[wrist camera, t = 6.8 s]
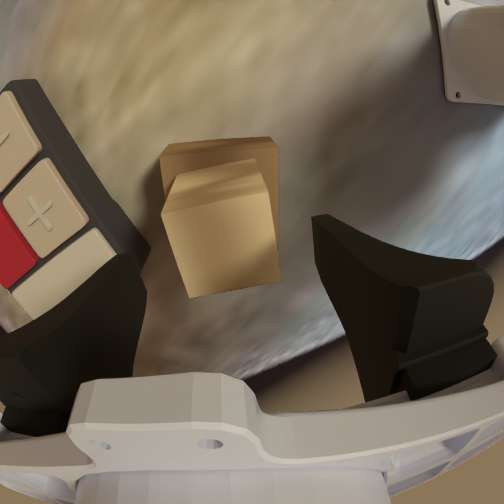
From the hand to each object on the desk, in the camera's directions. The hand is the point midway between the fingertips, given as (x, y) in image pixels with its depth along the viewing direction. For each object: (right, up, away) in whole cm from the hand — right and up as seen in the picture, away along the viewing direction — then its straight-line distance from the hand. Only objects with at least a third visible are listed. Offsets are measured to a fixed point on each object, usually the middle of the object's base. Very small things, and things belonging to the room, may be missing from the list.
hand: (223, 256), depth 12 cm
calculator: (-14, +4, +7) cm, 16 cm away
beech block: (0, +3, +4) cm, 5 cm away
